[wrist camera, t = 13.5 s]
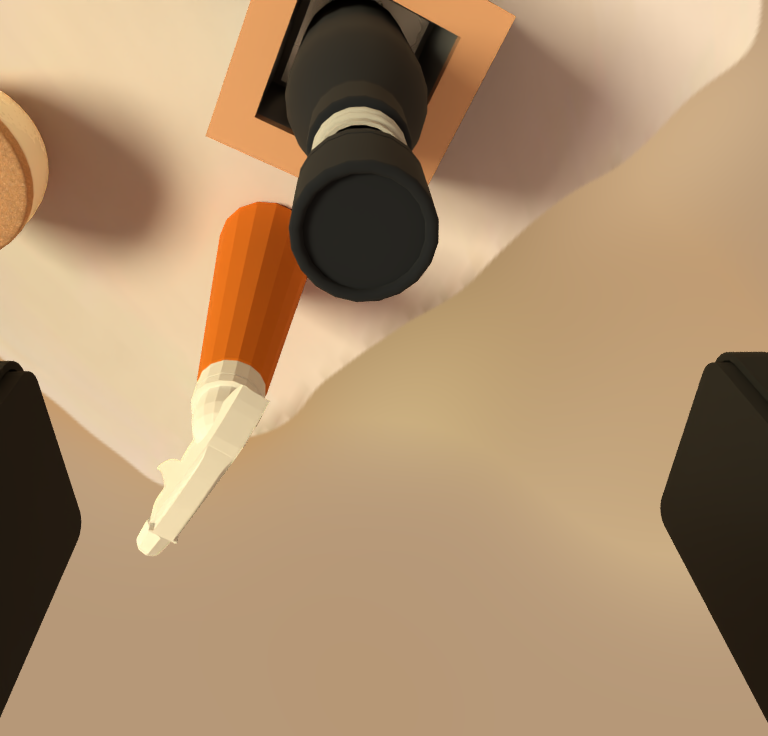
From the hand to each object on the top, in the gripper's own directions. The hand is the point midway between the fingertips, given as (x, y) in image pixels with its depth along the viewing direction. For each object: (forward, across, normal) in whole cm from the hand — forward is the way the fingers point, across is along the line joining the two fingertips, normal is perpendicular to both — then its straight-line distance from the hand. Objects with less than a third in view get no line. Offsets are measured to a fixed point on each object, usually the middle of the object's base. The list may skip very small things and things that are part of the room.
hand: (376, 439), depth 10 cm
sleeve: (+41, 0, 0) cm, 41 cm away
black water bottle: (+39, 0, +1) cm, 39 cm away
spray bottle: (+41, +8, +16) cm, 44 cm away
